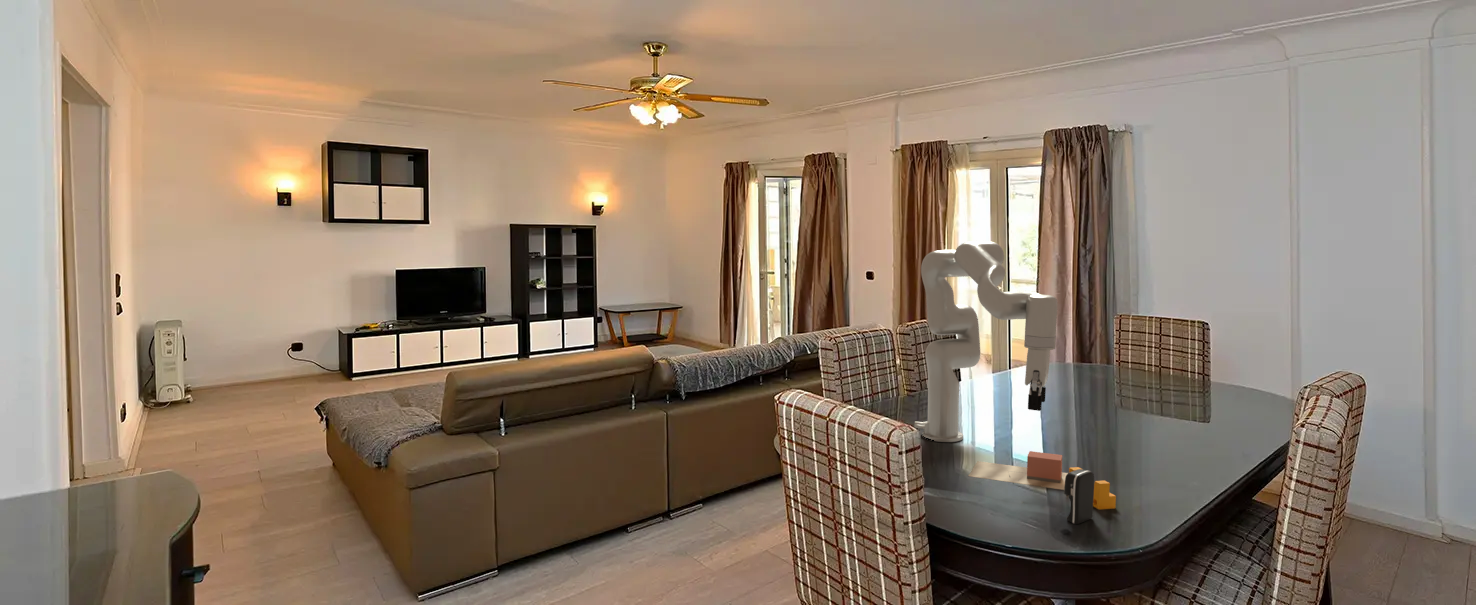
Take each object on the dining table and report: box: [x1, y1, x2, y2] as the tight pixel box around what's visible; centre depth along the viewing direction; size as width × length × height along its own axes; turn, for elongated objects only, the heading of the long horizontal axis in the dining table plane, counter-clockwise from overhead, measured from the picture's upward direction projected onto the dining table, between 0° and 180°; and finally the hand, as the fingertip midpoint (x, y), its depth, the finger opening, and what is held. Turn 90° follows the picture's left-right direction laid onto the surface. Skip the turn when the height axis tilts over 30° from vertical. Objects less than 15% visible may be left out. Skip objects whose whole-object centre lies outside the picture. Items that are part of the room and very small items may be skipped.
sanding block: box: [1026, 450, 1063, 483], centre depth 190 cm, size 8×5×6 cm, turn 62°
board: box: [967, 460, 1069, 497], centre depth 193 cm, size 24×14×2 cm, turn 62°
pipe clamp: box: [1068, 466, 1117, 511], centre depth 179 cm, size 12×4×6 cm, turn 9°
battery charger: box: [1063, 468, 1095, 525], centre depth 166 cm, size 7×4×11 cm, turn 124°
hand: (1036, 405), depth 193 cm, fingers open, 9 cm apart
